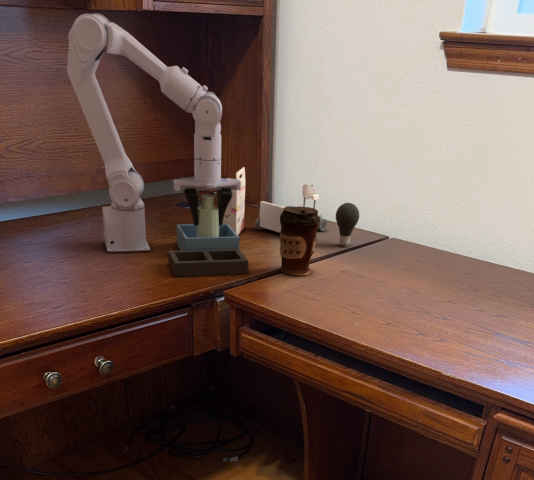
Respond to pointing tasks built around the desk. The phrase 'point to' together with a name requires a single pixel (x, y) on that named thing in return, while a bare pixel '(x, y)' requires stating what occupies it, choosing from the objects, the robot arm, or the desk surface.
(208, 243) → the basket
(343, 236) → the light bulb
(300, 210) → the coffee cup
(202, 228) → the bottle
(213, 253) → the bottle rack
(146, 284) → the desk surface
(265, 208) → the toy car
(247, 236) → the desk surface
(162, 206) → the desk surface
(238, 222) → the ink cartridge box
